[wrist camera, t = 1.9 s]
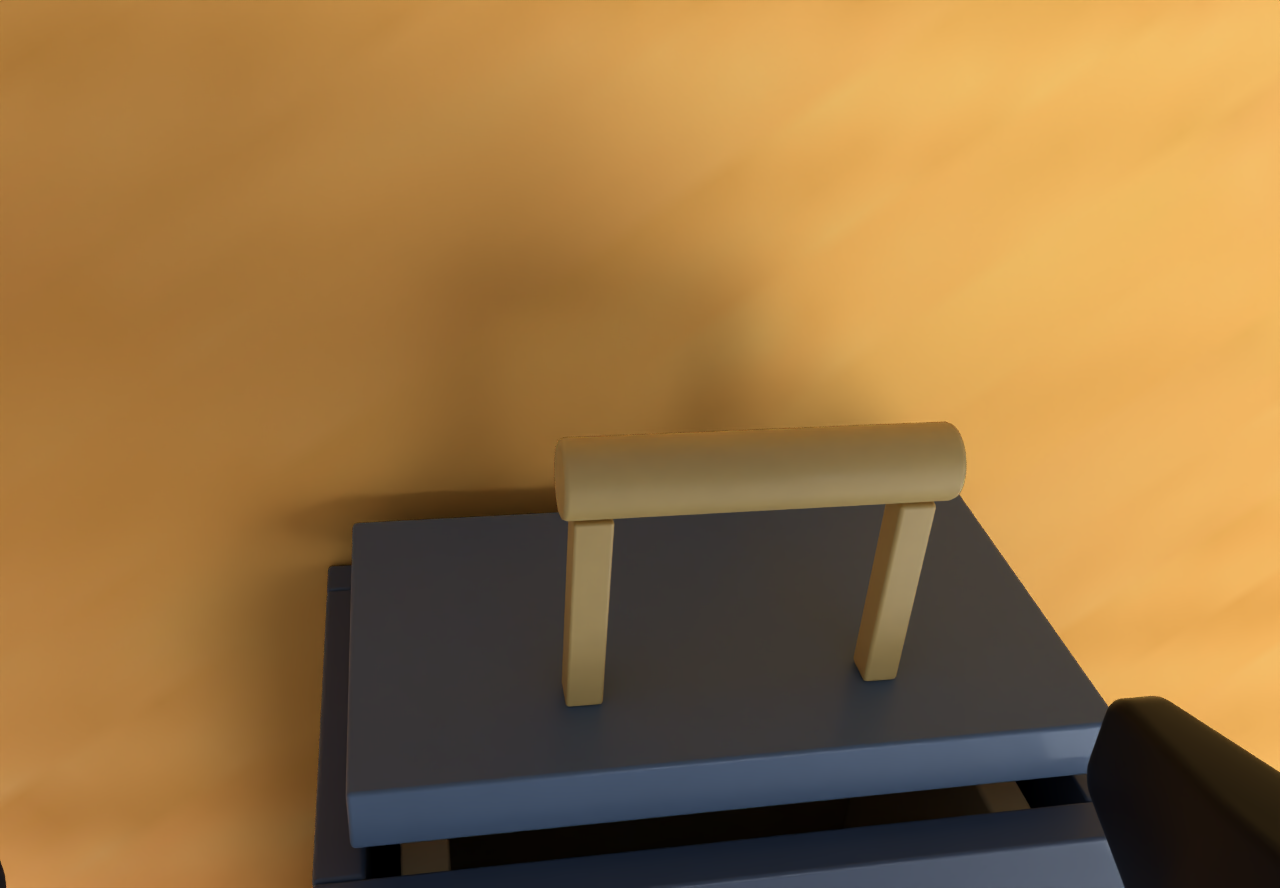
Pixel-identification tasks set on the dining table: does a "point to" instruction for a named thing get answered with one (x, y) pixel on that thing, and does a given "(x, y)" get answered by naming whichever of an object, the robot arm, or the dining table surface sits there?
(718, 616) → the drawer
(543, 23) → the dining table surface
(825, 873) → the cabinet
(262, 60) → the dining table surface
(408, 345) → the dining table surface
